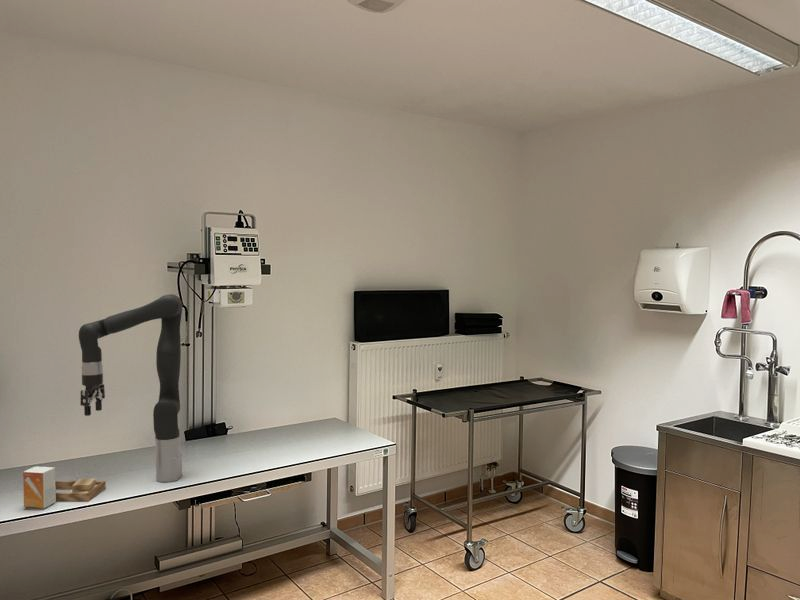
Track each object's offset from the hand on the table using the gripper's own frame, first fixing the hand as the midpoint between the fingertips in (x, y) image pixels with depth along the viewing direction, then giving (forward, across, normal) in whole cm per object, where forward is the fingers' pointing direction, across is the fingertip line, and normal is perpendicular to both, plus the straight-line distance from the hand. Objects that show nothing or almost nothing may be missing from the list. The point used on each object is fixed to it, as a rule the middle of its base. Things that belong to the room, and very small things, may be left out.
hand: (93, 412), depth 241 cm
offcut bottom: (+29, -14, -3) cm, 32 cm away
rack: (+28, -14, +4) cm, 32 cm away
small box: (+28, -24, +7) cm, 38 cm away
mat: (+28, -24, +8) cm, 38 cm away
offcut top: (+26, -14, -3) cm, 29 cm away
